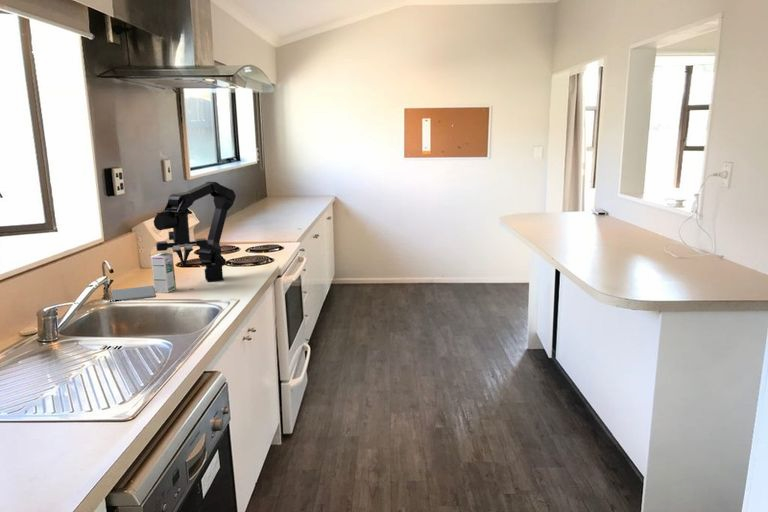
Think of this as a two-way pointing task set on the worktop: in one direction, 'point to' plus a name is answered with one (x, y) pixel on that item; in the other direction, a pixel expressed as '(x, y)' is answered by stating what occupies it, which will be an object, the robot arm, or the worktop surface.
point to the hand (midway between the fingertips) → (184, 266)
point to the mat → (133, 293)
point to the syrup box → (163, 272)
